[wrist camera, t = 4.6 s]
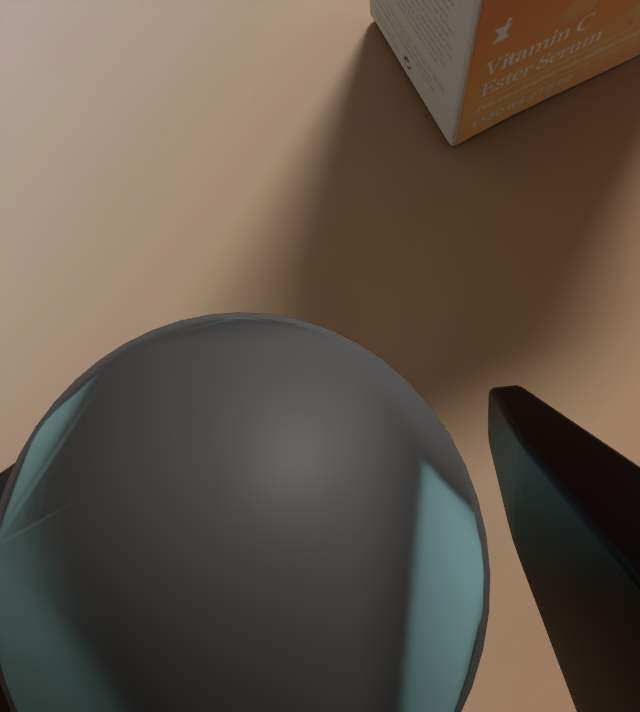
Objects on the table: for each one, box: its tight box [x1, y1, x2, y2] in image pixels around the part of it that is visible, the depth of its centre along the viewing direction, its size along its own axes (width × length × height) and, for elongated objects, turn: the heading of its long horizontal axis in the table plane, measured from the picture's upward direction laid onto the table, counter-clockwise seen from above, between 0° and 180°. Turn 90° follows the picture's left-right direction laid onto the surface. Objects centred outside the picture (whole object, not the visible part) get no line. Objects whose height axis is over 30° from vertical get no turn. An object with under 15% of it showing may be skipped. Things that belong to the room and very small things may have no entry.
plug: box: [0, 312, 490, 712], centre depth 10 cm, size 4×4×10 cm
